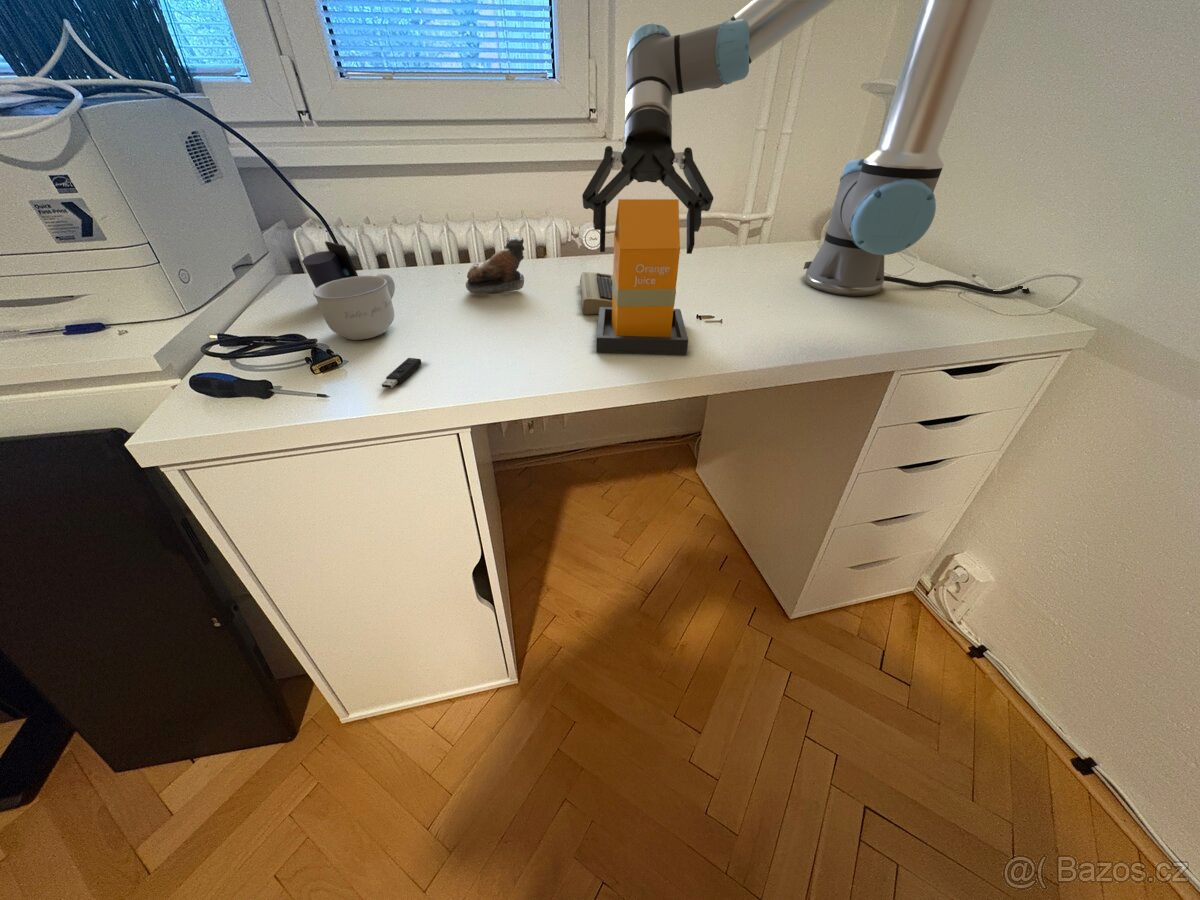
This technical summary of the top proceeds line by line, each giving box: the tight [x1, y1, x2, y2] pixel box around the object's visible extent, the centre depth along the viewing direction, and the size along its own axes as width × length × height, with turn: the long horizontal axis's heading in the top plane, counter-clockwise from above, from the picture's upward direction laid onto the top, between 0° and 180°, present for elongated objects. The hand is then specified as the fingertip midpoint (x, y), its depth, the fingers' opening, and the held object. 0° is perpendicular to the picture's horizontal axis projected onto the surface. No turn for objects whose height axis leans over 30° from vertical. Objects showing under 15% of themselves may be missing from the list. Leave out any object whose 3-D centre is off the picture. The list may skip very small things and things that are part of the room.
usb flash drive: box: [381, 357, 422, 389], centre depth 67 cm, size 8×2×1 cm, turn 169°
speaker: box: [301, 240, 359, 289], centre depth 88 cm, size 8×6×10 cm
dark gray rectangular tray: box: [595, 307, 689, 356], centre depth 79 cm, size 14×13×2 cm
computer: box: [579, 271, 613, 315], centre depth 93 cm, size 16×8×3 cm, turn 3°
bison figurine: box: [465, 236, 525, 295], centre depth 93 cm, size 12×7×10 cm, turn 103°
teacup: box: [312, 273, 396, 341], centre depth 78 cm, size 14×11×8 cm
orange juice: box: [612, 198, 681, 337], centre depth 74 cm, size 8×9×20 cm
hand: (646, 248), depth 74 cm, fingers open, 13 cm apart
